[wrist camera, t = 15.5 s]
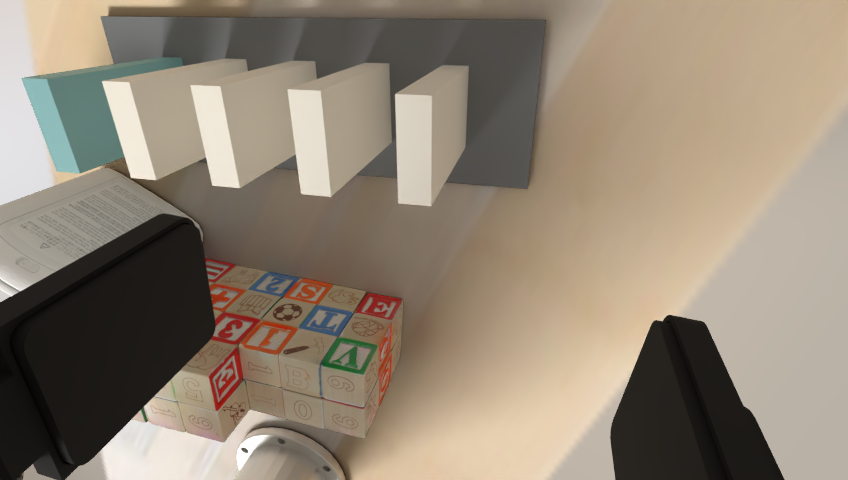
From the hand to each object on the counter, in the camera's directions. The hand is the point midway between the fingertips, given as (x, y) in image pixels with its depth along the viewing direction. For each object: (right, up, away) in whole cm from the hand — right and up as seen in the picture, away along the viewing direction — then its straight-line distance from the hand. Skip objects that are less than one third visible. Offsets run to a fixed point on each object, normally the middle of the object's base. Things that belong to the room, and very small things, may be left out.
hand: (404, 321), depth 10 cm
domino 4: (-3, +11, +21) cm, 24 cm away
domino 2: (-12, +12, +23) cm, 28 cm away
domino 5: (+2, +10, +20) cm, 22 cm away
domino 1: (-17, +12, +24) cm, 32 cm away
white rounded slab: (-23, +4, +31) cm, 38 cm away
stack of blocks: (-12, -4, +32) cm, 34 cm away
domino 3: (-7, +11, +22) cm, 26 cm away
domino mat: (-7, +11, +22) cm, 26 cm away
